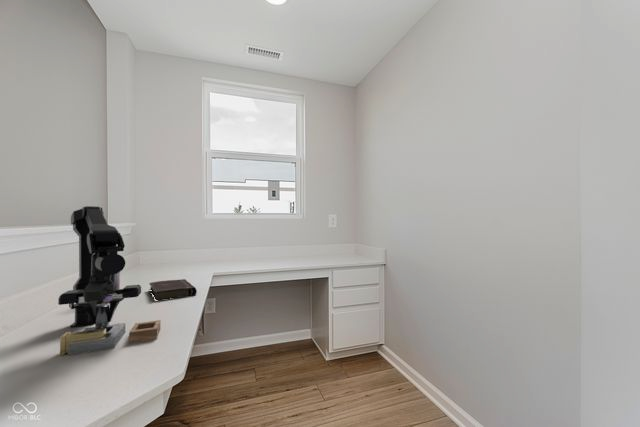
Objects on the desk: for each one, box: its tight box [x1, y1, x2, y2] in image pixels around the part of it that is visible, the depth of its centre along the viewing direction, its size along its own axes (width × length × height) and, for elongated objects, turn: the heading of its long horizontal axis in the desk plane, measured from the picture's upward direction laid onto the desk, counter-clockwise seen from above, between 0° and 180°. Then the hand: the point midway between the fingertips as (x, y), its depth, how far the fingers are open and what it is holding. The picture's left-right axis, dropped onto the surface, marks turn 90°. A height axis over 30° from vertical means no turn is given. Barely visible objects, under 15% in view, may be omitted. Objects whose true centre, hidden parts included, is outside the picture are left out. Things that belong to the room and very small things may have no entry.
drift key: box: [59, 328, 106, 356], centre depth 74 cm, size 3×9×5 cm, turn 114°
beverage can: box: [103, 271, 121, 303], centre depth 122 cm, size 6×6×15 cm
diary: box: [148, 278, 197, 301], centre depth 135 cm, size 19×25×5 cm
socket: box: [67, 322, 126, 356], centre depth 78 cm, size 12×10×3 cm
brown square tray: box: [128, 319, 161, 344], centre depth 83 cm, size 8×7×3 cm
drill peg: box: [94, 304, 110, 332], centre depth 80 cm, size 3×3×9 cm
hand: (102, 322), depth 80 cm, fingers closed on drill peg, 3 cm apart
